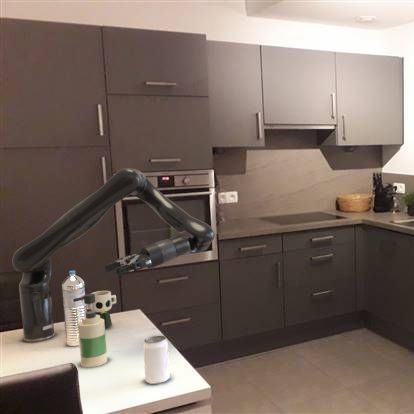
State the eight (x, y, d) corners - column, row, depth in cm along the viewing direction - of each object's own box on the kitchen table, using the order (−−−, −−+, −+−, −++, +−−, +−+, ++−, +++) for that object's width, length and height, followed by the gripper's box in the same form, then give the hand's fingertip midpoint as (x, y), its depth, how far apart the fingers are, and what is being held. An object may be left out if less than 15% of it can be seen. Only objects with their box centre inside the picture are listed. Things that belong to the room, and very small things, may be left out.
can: (149, 375, 158) (147, 335, 157) (172, 374, 159) (170, 334, 157) (142, 385, 152) (139, 343, 150) (166, 383, 152) (163, 342, 151)
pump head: (92, 305, 168) (91, 293, 168) (97, 307, 166) (96, 294, 166) (71, 310, 163) (70, 297, 163) (76, 312, 161) (75, 299, 161)
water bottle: (79, 347, 181) (73, 273, 178) (61, 346, 183) (55, 273, 180) (93, 340, 188) (88, 269, 185) (76, 339, 189) (70, 268, 186)
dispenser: (100, 356, 173) (96, 307, 171) (111, 361, 169) (108, 311, 167) (76, 363, 168) (72, 313, 166) (87, 369, 163) (83, 317, 161)
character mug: (90, 333, 195) (87, 298, 193) (83, 328, 200) (80, 294, 198) (121, 326, 202) (119, 292, 201) (114, 321, 207) (112, 288, 206)
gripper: (146, 241, 185) (98, 257, 174) (165, 244, 176) (116, 261, 164) (152, 262, 187) (104, 279, 176) (171, 266, 177) (122, 284, 166)
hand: (110, 270), depth 170 cm, fingers open, 8 cm apart
